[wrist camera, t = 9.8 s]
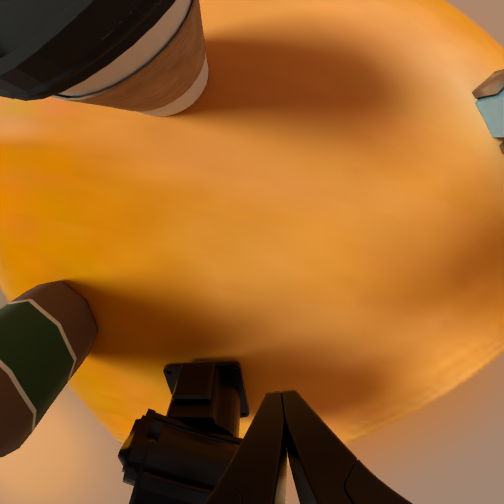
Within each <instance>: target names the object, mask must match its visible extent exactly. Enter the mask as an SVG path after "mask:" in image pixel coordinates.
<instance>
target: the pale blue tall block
mask: <svg viewBox="0 0 504 504" xmlns="http://www.w3.org/2000/svg"><path fill="white" fill-rule="evenodd" d="M475 104H476V106H477V107H478V109H479V111H480V113H481V115H482V117H483V119H484V121H485V123H486V125H487V127H488V129H489V131H490V133H491V135H492V137H504V87H503V88H502V89H501V90H500V91H499V92H498V93H497V94H492V95H487V96H483V97H481V98H480V99H479V100H478V101H477V102H476V103H475Z"/></svg>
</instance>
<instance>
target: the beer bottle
mask: <svg viewBox="0 0 504 504" xmlns="http://www.w3.org/2000/svg"><path fill="white" fill-rule="evenodd" d="M97 332H98V328H97V326H96V324H95V321H94V319H93V316H92V314H91V311H90V309H89V306H88V303H87V301H86V299H84V298H83V297H82V296H80V295H79V294H78V293H77V292H75V291H74V290H73V289H71V288H70V287H69V286H68V285H66V284H65V283H64V282H63V281H56V282H51V283H46V284H41V285H38V286H36V287H34V288H32V289H30V290H28V291H26V292H25V293H23V294H22V295H20V296H19V297H17V298H16V299H14V300H13V301H11V302H10V303H8V304H7V305H6V306H4V307H3V308H1V309H0V457H3V456H6V455H7V454H9V453H11V452H13V451H15V450H16V449H18V448H20V446H21V445H22V444H23V443H24V441H25V440H26V439H27V438H28V437H29V435H30V434H31V433H32V432H33V430H34V429H35V427H36V426H37V424H38V423H39V422H40V420H41V419H42V417H43V416H44V414H45V413H46V411H47V410H48V409H49V407H50V406H51V404H52V403H53V402H54V400H55V399H56V397H57V396H58V394H59V393H60V392H61V391H62V389H63V388H64V387H65V385H66V384H67V382H68V381H69V380H70V378H71V377H72V376H73V374H74V373H75V372H76V371H77V369H78V368H79V367H80V365H81V364H82V362H83V361H84V359H85V358H86V356H87V355H88V353H89V351H90V349H91V346H92V344H93V341H94V339H95V337H96V334H97Z"/></svg>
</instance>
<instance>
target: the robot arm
mask: <svg viewBox="0 0 504 504" xmlns="http://www.w3.org/2000/svg"><path fill="white" fill-rule="evenodd" d="M232 367H236V369H233V368H232ZM168 370H171V371H168ZM163 371H164V375H165V377H166V380H167V383H168V386H169V388H170V391H171V394H172V399H171V402H170V405H169V408H168V411H167V415H166V416H164V415H161V414H158V413H156V411H154V410H151V409H148V411H147V413H146V416H144V415H143V416H142V418H141V419H136V420H135V423H134V425H133V428H132V430H131V432H130V435H129V436H128V438H127V440H126V441H125V443H124V444H123V446H122V448H121V449H120V451H119V455H118V458H119V460H120V461H121V463H122V465H123V470H122V471H123V472H124V477H123V482H124V483H127V484H130V485H133V486H134V488H133V492H132V495H131V499H130V502H129V504H285V494H286V476H287V453H288V459H289V463H290V467H291V471H292V475H293V479H294V482H295V486H296V490H297V494H298V497H299V501H300V504H412V503H411V502H409V501H408V500H406V499H405V498H403V497H402V496H400V495H399V494H398V493H396V492H395V491H393V490H392V489H391V488H390V487H388V486H387V485H386V484H384V483H383V482H382V481H381V480H379V479H378V478H377V477H376V476H375V475H374V474H373V473H372V472H370V471H369V469H367V468H366V467H365V466H364V464H363V463H362V462H361V461H360V460H357V457H356V456H355V455H354V454H353V453H352V452H351V451H350V450H349V449H348V448H347V447H346V446H345V445H344V444H343V442H342V441H341V440H340V439H339V438H338V437H337V436H336V435H335V434H334V433H333V432H332V430H331V429H330V428H329V427H328V426H327V425H326V424H325V423H324V422H323V421H322V419H321V418H320V417H319V416H318V415H317V414H316V413H315V412H314V410H313V409H312V408H311V407H310V406H309V405H308V404H307V402H306V401H305V400H304V399H303V398H302V397H301V396H300V394H299V393H298V392H297V391H296V390H286V391H282V393H281V392H279V391H277V392H268V393H267V394H266V395H265V397H264V399H263V401H262V403H261V405H260V407H259V409H258V411H257V413H256V415H255V417H254V419H253V421H252V423H251V425H250V427H249V429H248V430H247V432H246V434H245V436H244V438H243V439H242V438H239V425H240V418H241V417H247V416H248V415H249V407H248V402H247V397H246V392H245V387H244V381H243V376H242V371H241V366H240V364H239V363H238V362H220V363H197V364H176V365H166V366H165V368H164V370H163ZM243 412H245V413H243Z"/></svg>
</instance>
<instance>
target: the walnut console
mask: <svg viewBox="0 0 504 504" xmlns="http://www.w3.org/2000/svg"><path fill="white" fill-rule="evenodd" d="M503 87H504V69H503V70H499V71H496V72H494V73H493V74H492V75H491V76H490V77H489V78H488V79H486V80H485V81H484V82H483V83H482V84H481V85H480V86H478V87H477V88H476V89H475V90H474V91H473V92H472V93H473V95H474V96H475V98H478V97H483V96H487V95H492V94H497V93H498V92H499V91H500V90H501V89H502V88H503ZM500 149H501V151H502V153H503V154H504V141H503V142H502V144H501V145H500Z"/></svg>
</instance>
